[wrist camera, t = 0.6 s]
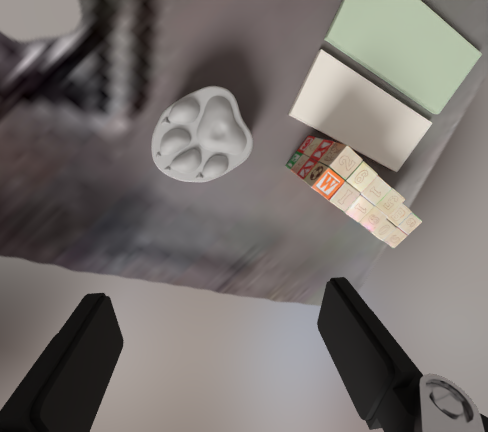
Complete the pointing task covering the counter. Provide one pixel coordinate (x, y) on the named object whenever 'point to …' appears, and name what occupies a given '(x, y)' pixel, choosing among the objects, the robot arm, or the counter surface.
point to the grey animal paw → (201, 136)
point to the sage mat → (404, 47)
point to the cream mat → (357, 113)
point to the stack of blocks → (353, 188)
